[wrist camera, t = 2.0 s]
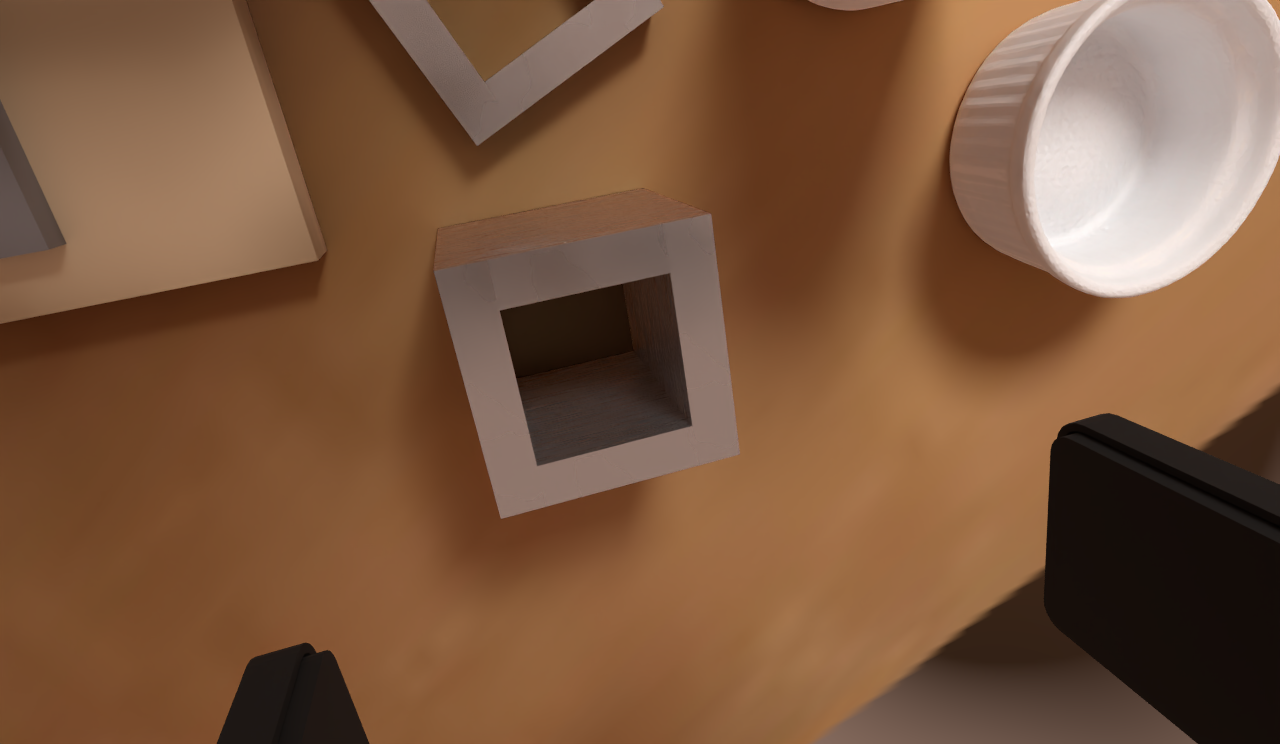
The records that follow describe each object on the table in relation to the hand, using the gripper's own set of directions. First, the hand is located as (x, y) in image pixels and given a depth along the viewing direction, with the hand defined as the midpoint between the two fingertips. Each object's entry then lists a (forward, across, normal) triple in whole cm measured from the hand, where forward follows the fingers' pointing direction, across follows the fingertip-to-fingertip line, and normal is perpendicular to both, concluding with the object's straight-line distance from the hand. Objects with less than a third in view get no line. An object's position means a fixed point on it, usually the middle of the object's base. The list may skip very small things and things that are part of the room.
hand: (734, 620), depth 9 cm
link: (+14, 0, -1) cm, 14 cm away
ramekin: (+14, -17, -3) cm, 22 cm away
